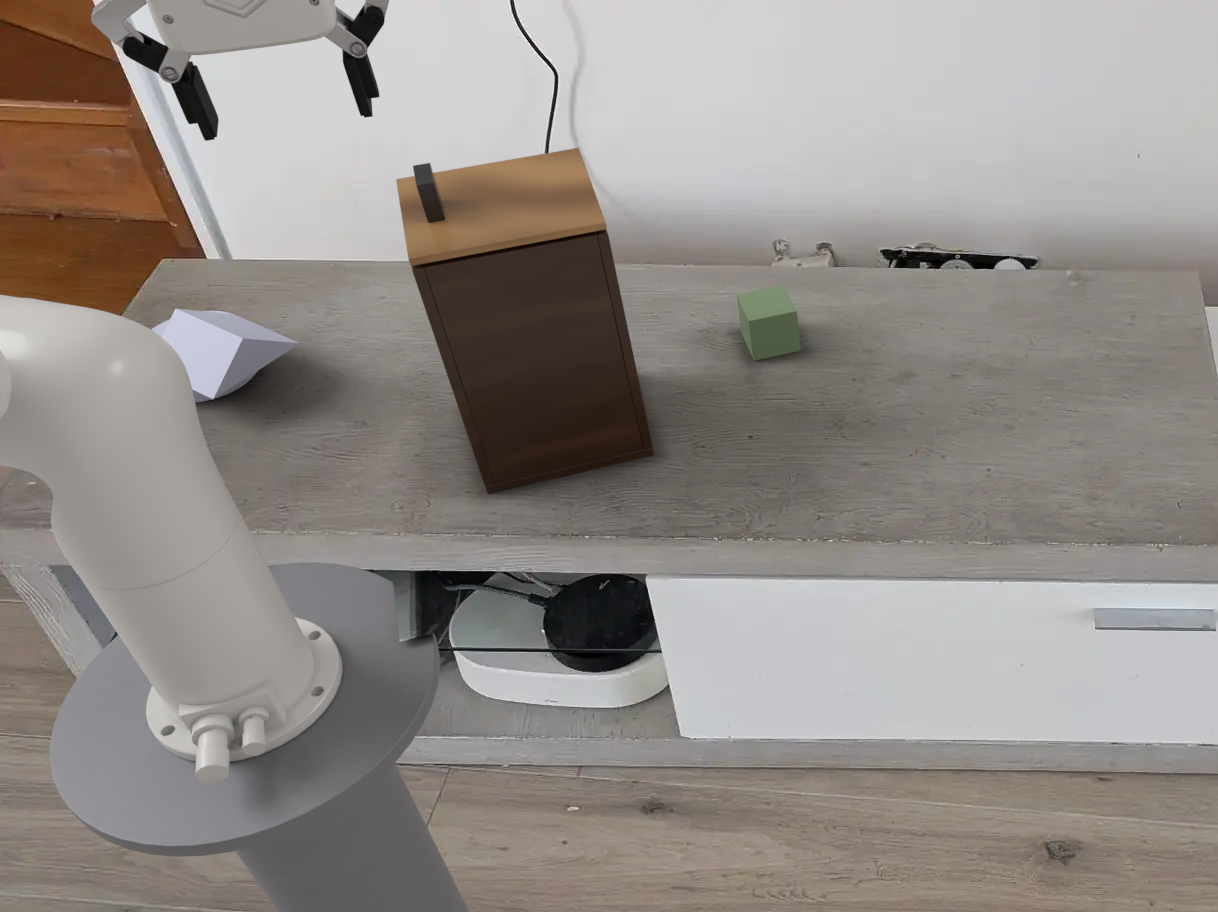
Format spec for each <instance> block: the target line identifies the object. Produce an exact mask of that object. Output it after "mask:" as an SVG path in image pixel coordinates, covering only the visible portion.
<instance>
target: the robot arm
mask: <svg viewBox="0 0 1218 912" xmlns="http://www.w3.org/2000/svg"><path fill="white" fill-rule="evenodd" d="M335 1H336V0H102V1H100V2H98V3H97V4H96V5H94V7H93V9H92V12H91V15H90V21H91V24H92V25H93V26H94V27H95V28H96V29H98V30H99V31H100V32H101V33H102V34H103V35H104V36H105V37H107V39H108V40H110V41H111V42H112V43H113V44H114V45H116V46H118V47H119V48H120V49H121V50H122V53H123V54H124V55H125V56H126V57H127V58H129V59H130V60H132V61H134V62H136V63H138V64H140V65H141V66H143V67H145V68H147V69H149V70H151V71H153V72H154V73H156V74H158V75H159V77H160V79H161V80H162V81H164V82H165V83H168V84H170V85H171V88H172V90H173V92H174V95H175V97H176V99H177V101H178V104H179V106H180V109H181V111H182V113H183V115H184V117H185V120H186V122H187V123H188V125H193V124H196V125H197V126H198V128H199V130H200V133H201V135H202V138H203V140H204V141H207V142H208V141H213V140H214V141H215V139H216V138H217V137H218V130H219V115H218V113H217V110H216V107H215V105H214V102H213V101H212V98H211V96H210V94H209V91H208V88H207V86H206V84H205V81H204V78H203V76H202V75H201V71H200V70H199V67H198V65H196V64H194V63H193V61H190V60H191V57H192V56H206V55H207V56H208V55H217V54H223V53H230V52H239V51H240V52H241V51H247V50H255V49H262V48H263V49H264V48H270V47H278V46H285V45H293V44H298V43H305V42H311V41H315V40H319V39H322V38H326V39H327V40H328V41H330V42H332V43H333V44H334V45H336V46H337V47H338V48H340V49H341V50H342V51H341V52H342V65H343V67H344V68H343V69H344V70H345V74H346V78H347V79H348V83H349V86H350V88H351V92H352V95H353V97H354V101H355V103H356V107H357V109H358V113H359V115H360V117H363V118H371V117H374V115H373V103H372V101H373V100H372V99H377V98H380V89H379V86H378V83H377V79H376V77H375V73H374V70H373V67H372V64H371V61H370V57H369V54H368V49H369V48H370V45H371V44H372V43H373V42H374V40H375V38H376V37H377V35H378V34H379V32H380V31H381V29H382V28H383V27H384V24H385V18H386V13H387V10H388V6H389V3H390V0H365V2H364V4H363V6H362V7H361V9H360V10H359V12H357V15H356V16H355V17H354V18H353V17H351V16H350V15H349V14H347V13H346V12H344V11H343V10H342V9H340V8H339V7H338V6H337V5H336V4H335ZM146 4H147V7H148V11H149V13H150V15H151V18H152V20H153V23H154V25H155V28H156V30H157V32H158V34H159V36H160V38H161V40H162V42H163V43H164V44H163V43H161V42H160V41H158V40H156V39H154V38H153V37H150V36H149V35H147V34H145V33H144V32H141V31H140V30H137V29H136V28H134V27H133V25H132V23H130V22H129V20H128V18H129V17H131V16H132V15H133V14H134V13H136V12H137V11H138V10H140V9H141V8H143V7H144V6H146ZM0 466H1V467H7V468H12V469H17V470H21V471H24V472H27V473H30V474H33V475H35V476H36V477H37V478H39V479H40V480H42V481H43V483H45V484H46V485H47V486H48V488H49V489H50V491H51V494H52V506H51V512H50V524H51V531H52V533H53V536H54V539H55V541H56V543H57V545H58V548H59V549H60V551H61V552H62V554H63V555H64V557H65V559H66V560H67V562H68V563H69V565H70V567H71V568H72V569H73V571H74V572H75V574H76V575H77V576H78V577H79V579H80V580H81V582H82V583H83V585H84V586H85V587H86V589H87V591H88V592H89V593H90V595H91V596H92V598H93V599H94V601H95V603H96V604H97V606H98V607H99V608H100V610H101V612H102V613H103V614H104V616H105V617H106V619H107V621H109V623H110V624H111V626H112V628H113V629H114V631H115V632H116V634H117V636H118V635H119V636H120V638H121V639H122V641H123V642H124V644H125V645H126V647H127V648H128V650H129V651H130V653H131V654H132V656H133V657H134V659H135V660H136V662H137V663H138V665H139V666H140V668H141V669H142V671H143V672H144V674H145V675H146V677H147V678H148V680H149V681H150V683H151V684H152V687H151V690H150V693H149V696H148V699H147V706H146V716H147V721H148V725H149V727H150V729H151V731H152V732H153V734H154V735H155V737H156V739H157V740H158V741H159V742H160V743H161V745H162V746H163V747H164V748H165V749H167V750H168V751H170V752H171V753H173V754H174V755H176V756H178V757H181V758H184V759H187V760H190V761H196V773H195V777H196V779H197V780H198V781H199V782H201V783H204V784H217V783H221V782H223V781H225V780H226V779H227V778H228V776H229V765H230V762H232V761H238V760H244V759H247V758H250V757H254V756H259V755H261V754H263V753H265V752H268V751H270V750H272V749H274V748H277V747H279V746H281V745H283V744H284V743H286V742H288V741H289V740H291V739H293V738H294V737H296V736H298V735H299V734H300V733H302V732H303V731H304V730H305V729H307V728H308V727H309V726H310V725H312V724H313V723H314V722H315V721H316V720H317V719H318V718H319V717H320V716H321V714H322V713H323V712H324V711H325V710H326V709H327V707H328V706H329V704H330V703H331V701H332V700H333V698H334V697H335V694H336V692H337V690H338V688H339V685H340V682H341V677H342V672H343V670H342V658H341V656H340V653H339V650H338V648H337V646H336V645H335V643H334V641H333V639H332V637H331V636H330V635H329V634H328V633H327V632H326V631H325V630H324V629H323V628H321V627H320V626H318V625H316V624H314V623H313V622H310V621H307V620H304V619H301V618H298V617H294V615H293V613H292V611H291V609H290V607H289V605H288V604H287V602H286V600H285V598H284V596H283V594H282V592H281V590H280V588H279V586H278V584H277V582H276V581H275V579H274V577H273V575H272V573H271V571H270V569H269V567H268V566H269V565H268V564H267V561H266V559H265V557H264V555H263V553H262V552H261V550H260V548H259V546H258V544H257V542H256V541H255V539H254V537H253V535H252V532H251V531H250V529H249V527H248V525H247V523H246V521H245V519H244V517H243V515H242V514H241V512H240V509H239V508H238V506H237V504H236V502H235V501H234V499H233V498H232V495H231V493H230V491H229V490H228V487H227V485H226V484H225V482H224V479H223V477H222V475H221V474H220V471H219V468H218V467H217V465H216V463H215V461H214V458H213V456H212V454H211V451H210V449H209V447H208V444H207V441H206V438H205V436H204V433H203V429H202V425H201V421H200V418H199V414H198V409H197V404H196V403H195V399H194V395H193V390H192V386H191V382H190V379H189V376H188V373H187V370H186V368H185V366H184V364H183V362H182V360H181V358H180V357H179V355H178V354H177V352H176V351H175V350H174V349H173V347H172V346H171V345H170V344H169V343H168V342H167V341H166V340H164V339H163V338H162V337H161V336H159V335H158V334H157V333H155V332H154V331H152V330H151V329H150V328H148V327H147V326H145V325H142V324H141V323H140V322H137V321H134V320H132V319H130V318H127V317H125V316H122V315H118V314H115V313H112V312H108V311H105V310H100V309H96V308H92V307H88V306H87V307H86V306H79V305H74V304H68V303H61V302H56V301H51V300H50V301H49V300H43V299H37V298H33V297H32V298H30V297H20V296H19V297H18V296H12V295H6V294H0Z"/></svg>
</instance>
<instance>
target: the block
mask: <svg viewBox="0 0 1218 912" xmlns="http://www.w3.org/2000/svg"><path fill="white" fill-rule="evenodd" d="M736 301H737V302H736V303H737V309H738V316H739V323H740V324H739V325H740V331H741V336H742V338H743V340H744V342H745V344H746V347H747V349H748V351H749V354H750V356H751V358H752V360H753V361H754V362H756V361H760V360H765V359H770V358H774V357H780V356H785V355H787V354H788V355H789V354H792V353H797V352H801V340H800V339H801V338H800V330H799V320H798V319H799V318H798V310H797V308H796V307H795V305H794V303H793V300H792V299H791V297H790V294H789V293H788V290H787V288H786V287H785V285H784V284H781V285H776V286H771V287H766V288H762V289H757V290H751V291H748V292H747V291H746V292H741V293H737V294H736Z"/></svg>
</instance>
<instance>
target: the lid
mask: <svg viewBox="0 0 1218 912" xmlns="http://www.w3.org/2000/svg"><path fill="white" fill-rule="evenodd" d="M586 166H587V165H586V164H585V161H584V158H583V155H582V153H581V149H580V148H579V147H576V148H575V147H574V148H569V149H563V150H557V151H552V152H551V151H550V152H546V153H545V152H544V153H539V154H535V155H534V154H533V155H529V156H528V155H527V156H523V157H517V158H511V159H505V160H504V159H503V160H500V161H494V162H493V161H492V162H488V163H482V164H476V165H470V166H465V167H459V168H452V169H447V170H441V171H435V172H434V171H433V168H432V164H431V163H430V162H427V163H421V164H415V165H412V169H413V176H406V177H400V178H396V179H395V182H396V188H397V195H398V201H399V208H400V215H401V220H402V228H403V234H404V240H405V247H406V252H407V259H408V260H407V261H408V262H409V263H408V264H409V265H410V266H411V267H412V266H414V265H419V264H425V263H430V262H435V261H441V260H446V259H451V258H457V257H462V256H467V255H473V254H478V253H483V252H488V251H494V250H499V249H504V248H510V247H515V246H520V245H526V244H531V243H536V242H542V241H547V240H552V239H558V238H563V237H568V236H573V235H579V234H584V233H589V232H595V231H600V230H605V229H607V230H608V227H607V222H606V219H605V217H604V214H603V211H602V208H601V206H600V202H599V200H598V197H597V194H596V191H595V188H594V186H593V183H592V181H591V178H590V175H589V172H588V169H587V167H586Z"/></svg>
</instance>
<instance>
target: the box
mask: <svg viewBox="0 0 1218 912" xmlns="http://www.w3.org/2000/svg"><path fill="white" fill-rule="evenodd" d="M411 271H412V274H413V277H414V280H415V283H416V287H417V289H418V292H419V296H420V298H421V301H422V304H423V307H424V310H425V313H426V316H427V319H428V322H429V324H430V328H431V331H432V334H433V337H434V340H435V343H436V345H437V349H438V352H439V354H440V358H441V360H442V363H443V366H444V369H445V372H446V376H447V379H448V381H449V384H450V388H451V390H452V393H453V396H454V399H455V403H456V405H457V408H458V411H459V414H460V417H461V420H462V423H463V426H464V429H465V432H466V434H467V438H468V441H469V443H470V447H471V450H472V452H473V456H474V459H475V462H476V464H477V467H478V472H479V473H480V476H481V479H482V482H483V486H484V488H485V491H486V494H493V493H498V492H501V491H505V490H509V489H513V488H518V487H523V486H527V485H531V484H535V483H541V482H543V481H548V480H552V479H558V478H561V477H566V476H570V475H574V474H578V473H582V472H587V471H591V470H595V469H600V468H604V467H608V466H613V465H617V464H622V463H625V462H629V461H634V460H637V459H642V458H647V457H651V456H655V450H654V447H653V441H652V437H651V432H650V429H649V428H650V427H649V422H648V417H647V414H646V413H647V412H646V408H645V403H644V398H643V394H642V389H641V388H642V387H641V385H640V379H639V374H638V370H637V365H636V361H635V355H634V350H633V346H632V341H631V338H630V333H629V332H630V331H629V327H628V322H627V317H626V313H625V312H626V311H625V308H624V303H623V298H622V293H621V288H620V284H619V280H618V275H617V269H616V265H615V260H614V256H613V250H612V247H611V242H610V236H609V233H608V228H607V229H605V230H600V231H595V232H589V233H584V234H579V235H573V236H568V237H563V238H558V239H552V240H547V241H542V242H536V243H531V244H526V245H520V246H515V247H510V248H504V249H499V250H494V251H488V252H483V253H478V254H473V255H467V256H462V257H457V258H451V259H446V260H441V261H435V262H430V263H425V264H419V265H414V266H411Z"/></svg>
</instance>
